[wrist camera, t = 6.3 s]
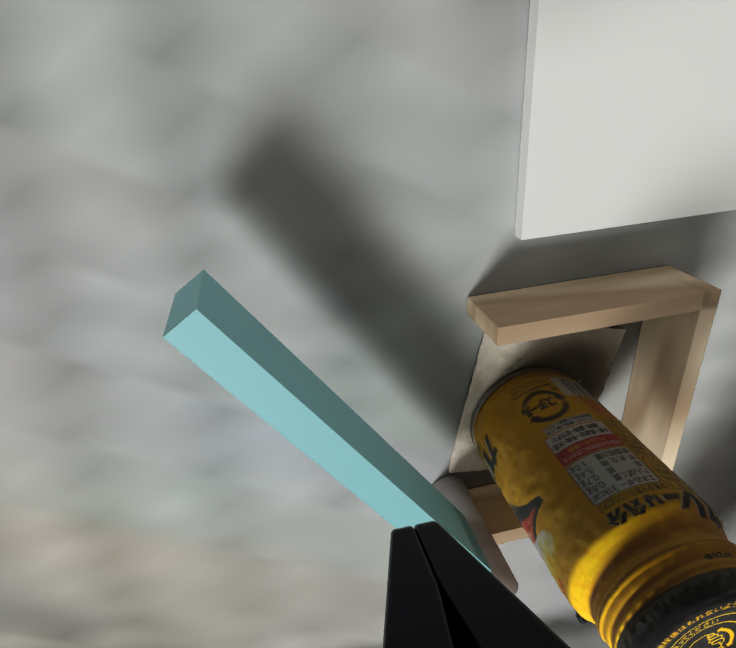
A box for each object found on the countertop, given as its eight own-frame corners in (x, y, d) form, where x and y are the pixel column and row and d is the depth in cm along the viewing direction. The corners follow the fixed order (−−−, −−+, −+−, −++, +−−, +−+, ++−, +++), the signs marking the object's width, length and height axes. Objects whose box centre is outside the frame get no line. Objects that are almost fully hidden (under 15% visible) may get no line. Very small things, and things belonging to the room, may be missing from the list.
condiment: (447, 470, 26) (582, 734, 16) (484, 321, 23) (689, 537, 12) (569, 463, 28) (763, 697, 18) (622, 325, 25) (901, 516, 14)
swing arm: (464, 515, 24) (491, 571, 21) (443, 529, 24) (468, 587, 21) (203, 269, 16) (196, 309, 13) (175, 293, 16) (162, 337, 14)
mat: (741, 204, 23) (753, 207, 22) (514, 235, 21) (521, 240, 21) (826, -109, 18) (844, -114, 17) (536, -101, 16) (547, -107, 16)
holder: (625, 464, 29) (709, 551, 24) (428, 509, 27) (473, 614, 22) (668, 265, 24) (790, 321, 18) (425, 303, 22) (483, 378, 16)
